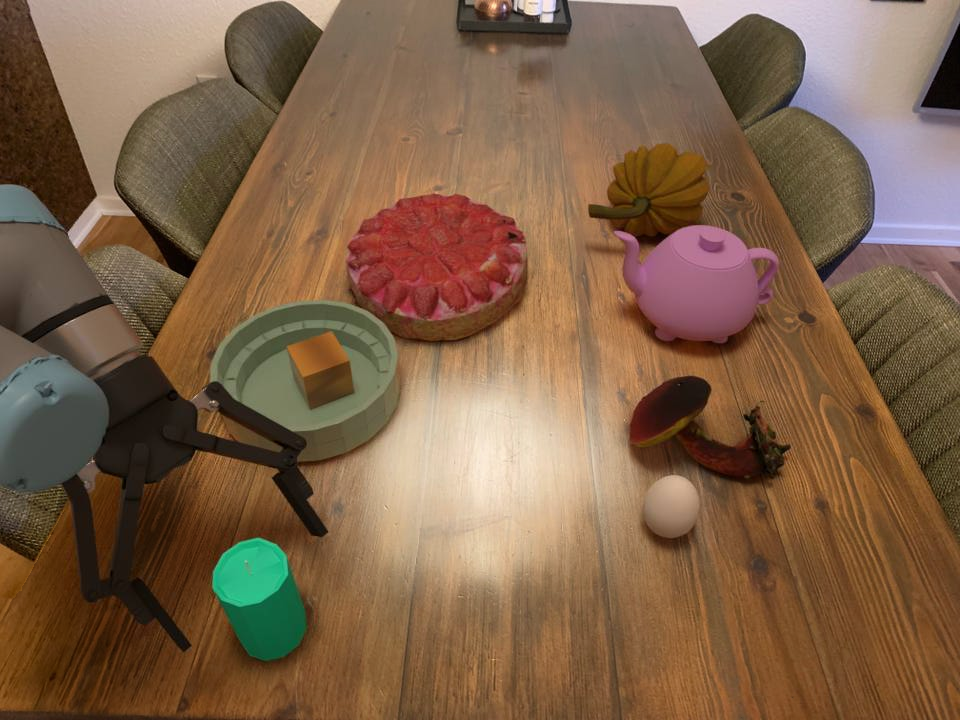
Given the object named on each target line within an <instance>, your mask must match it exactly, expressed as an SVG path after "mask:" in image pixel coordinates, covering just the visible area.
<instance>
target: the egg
mask: <svg viewBox="0 0 960 720" xmlns="http://www.w3.org/2000/svg"><path fill="white" fill-rule="evenodd" d="M700 507H701V502H700V498H699V494H698V491H697V489H696V487H695V486H694V484H693V483H692V482H691V481H689V479H687V478H686V477H684V476H682V475H677V474H671V475H666V476H663V477H661V478H660V479H658V480H656V481H655V482H653V483H652V485H651V486H650V487H649V488H648V489H647V491H646V493H645V495H644V498H643V501H642V507H641V508H642V509H641V510H642V516H643V519H644V522H645V523H646V525H647V527H648V528H649V529H650V530H651V531H652V532H653V533H654V534H656V535H658V536H660V537H663V538H666V539H667V538H668V539H675V538H676V539H677V538H679V537H681V536H684V535H686V534H687V533H689V531H690V530H692V528H694V525H695V524H696V523H697V520H698V519H699V514H700Z"/></svg>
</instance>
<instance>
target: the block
mask: <svg viewBox="0 0 960 720" xmlns="http://www.w3.org/2000/svg"><path fill="white" fill-rule="evenodd" d="M286 348H287V352H288V356H289V360H290V365H291V369H292V373H293V377H294V380H295V382H296V384H297V386H298V388H299V390H300V392H301V394H302V396H303V397H304V399H305V401H306V403H307V405H308V407H309V409H310V410H311V409H314V408H316V407H319V406H321V405H324V404H327V403H329V402H332V401H335V400H337V399H340V398H343V397H345V396H348V395H350V394H353V393H354V386H353V379H352V373H351V366H350V360H349V358H348V357H347V355H346V354H345V352H344V350H343V349H342V347H341V345H340V344H339V342H338V340H337V339H336V337H335V336H334V334H333V332H332V331H330V332H327V333H324V334H321V335H318V336H315V337H313V338H310V339H307V340H304V341H301V342H298V343H295V344H292V345H289V346H287V347H286Z"/></svg>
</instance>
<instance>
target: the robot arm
mask: <svg viewBox="0 0 960 720" xmlns="http://www.w3.org/2000/svg"><path fill="white" fill-rule="evenodd" d="M143 347H144V342H143V341H142V340H141V338H140V337H139V335H138V334H137V333H136V331H135V330H134V329H133V327H132V326H131V324H130V323H129V321H128V320H127V319H126V318H125V316H124V315H123V313H122V312H121V310H120V309H119V308H118V306H117V305H116V304H115V303H114V301H113V300H112V298H111V297H110V296H109V294H108V293H107V291H106V290H105V288H104V286H103V285H102V284H101V282H100V281H99V280H98V278H97V277H96V275H95V274H94V272H93V271H92V269H91V268H90V267H89V265H88V263H87V262H86V260H85V259H84V258H83V256H82V255H81V254H80V252H79V251H78V249H77V248H76V246H75V245H74V244H73V241H72V240H71V239H70V236H69V232H68V231H67V230H66V229H65V228H64V226H62V225H61V224H60V222H59V221H58V220H57V218H55V217H54V215H53V214H52V212H50V210H49V208H48V207H47V206H46V205H45V204H44V203H43V202H42V201H41V199H39V198H38V196H37V195H36V194H35V193H34V192H33V191H32V190H30V189H29V188H27V187H24V186H22V185H19V184H18V185H17V184H7V183H6V184H0V487H2V488H3V489H7V490H10V491H13V492H19V493H23V494H26V493H29V494H30V493H31V494H32V493H38V492H43V491H46V490H50V489H52V488H54V487H57V486H59V485H60V487H61V489H62V491H63V492H64V494H65V496H66V497H67V500H68V501H69V503H70V510H71V520H72V529H73V537H74V547H75V554H76V562H77V563H76V564H77V572H78V581H79V589H80V595H81V597H82V599H83V600H84V601H85V602H87V603H88V604H94V603H97V602H98V601H100V600H103V599H105V598H109V597H116V598H117V599H118V600H119V601H120V602H121V603H122V605H124V607H125V608H126V610H127V611H128V612H129V613H130V615H131V616H132V617H133V619H134V620H135V621H136V623H138V624H139V625H141V626H143V627H146V626H148V625H149V624H150V623H152V622H153V621H154V620H156V621H157V622H158V623H159V625H160V626H161V627H162V629H163V630H164V631H165V633H166V634H167V635H168V637H169V638H170V639H171V641H172V642H173V643H174V645H175V646H176V647H177V648H178V649H179V650H180V651H181V652H182V653H186V652H187V651H188V650H189V649H190V648H191V647H193V644H192V643H191V641H189V639H188V638H187V637H186V635H185V634H184V632H183V631H182V630H181V629H180V628H179V626H178V625H177V624H176V622H175V621H174V619H173V618H172V617H171V616H170V614H169V613H168V612H167V611H166V608H164V606H163V605H162V604H161V603H160V601H159V599H157V597H156V596H155V595H154V593H153V592H152V591H151V589H150V588H149V587H148V585H147V584H146V583H145V582H144V580H143V579H141V578H140V577H139V576H135V577H134V578H133V579H132V580H131V577H132V570H133V562H134V555H135V548H136V542H137V533H138V526H139V518H140V512H141V506H142V505H141V504H142V500H143V497H144V491H145V490H144V489H145V485H153V484H158V483H159V482H161V481H163V480H165V479H166V478H167V477H168V476H169V475H170V474H171V473H172V472H173V470H175V469H177V468H180V467H183V466H185V465H187V464H188V463H189V462H191V461H193V458H194V456H195V454H196V453H197V452H196V451H198V452H201V453H209V454H212V455H217V456H222V457H225V458H230V459H234V460H238V461H241V462H246V463H251V464H254V465H258V466H263V467H266V468H271V469H275V470H277V471H278V472H276V473H275V474H274V475H272V476H271V477H270V478H271V480H272V481H273V482H274V484H275V486H276V487H277V488H278V490H279V491H280V492H281V494H282V496H283V498H284V499H285V500H286V501H287V503H288V505H290V507H291V509H292V510H293V512H294V513H295V514H296V515H297V517H298V518H299V520H300V521H301V523H302V524H303V525H304V527H305V529H306V531H307V532H308V533H309V535H310V536H311V537H317V538H324V537H325V536H326V535H327V534H329V532H330V531H329V530H328V528H327V527H326V525H325V524H324V522H323V521H322V519H321V517H319V516H318V514H317V512H316V510H314V507H313V506H312V505H311V503H310V502H309V499H310V498H311V497H312V496H314V488H313V487H312V485H311V483H309V481H308V479H307V478H306V476H305V475H304V474H303V472H302V471H301V469H300V468H299V466H298V462H297V461H298V460H297V457H298V456H299V454H300V453H301V451H302V450H303V449H305V448H306V445H307V441H306V439H305V438H303V437H302V436H300V435H298V434H296V433H294V432H293V431H291V430H289V429H287V428H285V427H284V426H282V425H280V424H278V423H276V422H275V421H273V420H271V419H269V418H267V417H266V416H264V415H262V414H260V413H258V412H257V411H255V410H253V409H251V408H250V407H248V406H246V405H244V404H242V403H241V402H239V401H237V400H235V399H234V398H233V397H232V396H231V395H230V394H229V392H228V391H227V390H226V389H225V388H224V387H223V386H222V384H221V383H219V382H217V381H213V382H211V383H210V382H209V383H207V384H205V385H203V386H202V388H201V391H199V392H198V393H197V394H196V395H194V396H193V397H192V398H190V399H189V400H188V399H186V398H185V397H183V396H182V395H180V393H179V392H178V390H177V389H176V387H175V386H174V385H173V384H172V382H171V381H170V379H169V378H168V377H167V375H166V374H165V372H164V371H163V369H162V368H161V367H160V365H159V363H157V361H156V359H155V358H154V357H153V355H151V356H149V354H147V353H146V354H142V353H141V352H140V351H141V350H142V348H143ZM198 410H204V411H205V412H207V413H215V412H218V413H219V414H220V415H221V414H222V415H223V416H225V417H227V418H229V419H231V420H232V421H234V422H236V423H238V424H240V425H242V426H243V427H245V428H247V429H249V430H251V431H253V432H255V433H256V434H258V435H260V436H262V437H264V438H266V439H267V440H269V441H271V442H273V443H275V444H277V445H278V446H280V447H282V448H283V449H282V450H281V452H276V451H272V450H268V449H264V448H260V447H256V446H252V445H248V444H244V443H240V442H238V441H237V440H236V441H235V440H232V439H228V438H225V437H220V436H218V435H215V434H211V433H207V432H203V431H199V430H198V420H199V411H198ZM99 473H102V474H105V475H108V476H112V477H114V478H118V479H121V484H120V486H121V487H120V491H119V492H120V493H119V504H118V512H117V519H116V525H115V533H114V540H113V545H112V546H113V547H112V554H111V561H110V567H109V574H108V576H107V577H103V578H101V574H100V566H99V556H98V548H97V541H96V531H95V524H94V514H93V506H92V501H91V497H90V493H92V492H93V491H94V490H95V489H96V486H97V485H96V475H98V474H99Z"/></svg>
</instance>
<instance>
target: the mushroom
mask: <svg viewBox="0 0 960 720" xmlns="http://www.w3.org/2000/svg"><path fill="white" fill-rule="evenodd" d="M711 394H712V386H711V384H710V383H709V382H708V381H707V380H706V379H705V378H703V377H700V376H696V375H685V376H678V377H673V378H669V379H667V380H666V381H663V382H662V383H661V384H659V385H658V386H656V387H654V388H653V389H652V390H650V392H649V393H647V394H646V395H644V396H642V397H641V398H640V400H639V402H638V403H637V404H636V406H635V408H634V410H633V413H632V417H631V421H630V427H629V434H628V436H629V438H628V441H629V443H630V444H633V445H635V446H636V447H639V448H650V447H652V446H656V445H659V444H660V443H662V442H663V443H664V441H667V440H668V439H670V438H671V437H674V436H676V437H677V439H678V440H679V442H680V443H681V445H682V446H683V447H684V449H685V450H686V452H687V453H688V454H689V455H690V456H691V457H692V458H693V459H694V460H695V461H696V462H698V464H700V465H702V466H703V467H705V468H706V469H710V470H712V471H714V472H717V473H720V474H723V475H727V476H734V477H735V476H737V477H743V478H744V479H750V477H755V478H756V477H757V476H758V475H760V474H767V475H769V476H770V478H771V479H772V480H775V475H774V473H775V472H777V471H778V470H779V468H782V467H784V465H785V462H784V460H783V459H782V456H783V454H785V453H786V452H788V451H790V449H791V445H790V444H779V443H777V442H776V441H775V439H776V438H777V436H776V435H777V434H776V431H774V430H773V429H771V427H770V425H769V424H768V423H767V421H766V420H765V419H764V418H763V416H762V411H761V406H760V405H759V404H760V403H763V404H764V403H765V401H764V400H760V401H759V402H758V403H757V404H756V406H755V408H753V409H751V410H750V412H749V413H748V414H747V413H744V414H743V416H742V417H743V419H744V420H745V421H746V422H748V423H749V426H750V427H749V432H750V435H749V437H746V439H744V440H743V441H742V442H740V443H739V444H736V445H729V444H726V443H723V442H722V441H718V440H716V439H714V438H712V437H710V436H709V435H708V434H707V432H705V430H704V429H703V428H702V427H701V425H699V424H698V423H697V422H696V421H695V419H696V418H697V417H698V416H699V415H701V413H702V412H703V411H704V410H705V408H706V406H707V405H708V402H709V399H710V396H711Z"/></svg>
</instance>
